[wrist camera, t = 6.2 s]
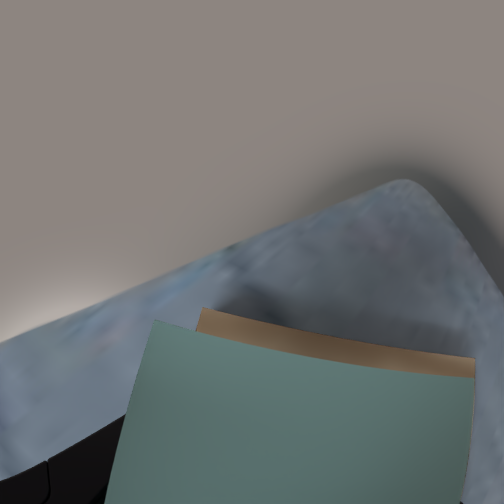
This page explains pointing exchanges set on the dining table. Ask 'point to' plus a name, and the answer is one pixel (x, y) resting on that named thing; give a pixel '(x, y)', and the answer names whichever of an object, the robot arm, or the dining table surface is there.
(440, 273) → the dining table surface
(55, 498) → the robot arm
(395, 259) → the dining table surface
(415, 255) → the dining table surface
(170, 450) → the block
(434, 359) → the tan tray
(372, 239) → the dining table surface
